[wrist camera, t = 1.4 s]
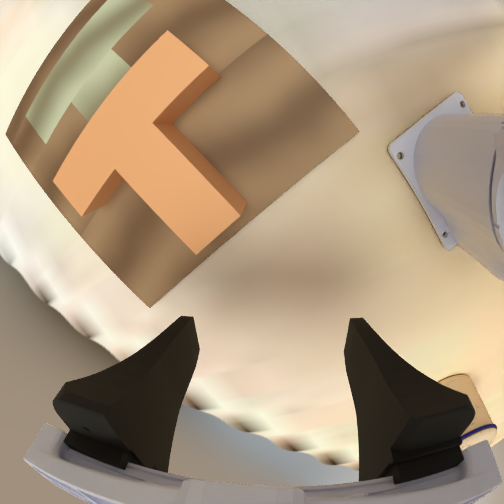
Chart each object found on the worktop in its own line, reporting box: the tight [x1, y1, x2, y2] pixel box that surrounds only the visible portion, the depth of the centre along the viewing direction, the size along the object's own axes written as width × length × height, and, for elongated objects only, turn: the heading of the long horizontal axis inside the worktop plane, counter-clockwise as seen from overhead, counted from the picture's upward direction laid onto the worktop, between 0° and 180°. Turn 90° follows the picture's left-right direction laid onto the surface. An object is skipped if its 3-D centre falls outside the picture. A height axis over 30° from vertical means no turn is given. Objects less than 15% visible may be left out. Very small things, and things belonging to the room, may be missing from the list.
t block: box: [53, 30, 247, 255], centre depth 16 cm, size 10×12×3 cm
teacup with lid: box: [438, 375, 497, 451], centre depth 21 cm, size 12×9×12 cm
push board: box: [6, 0, 359, 308], centre depth 17 cm, size 22×20×1 cm
